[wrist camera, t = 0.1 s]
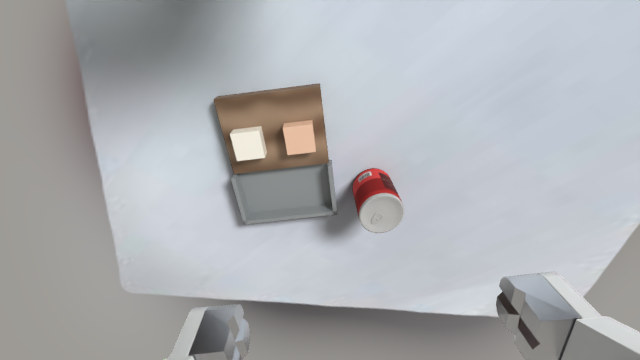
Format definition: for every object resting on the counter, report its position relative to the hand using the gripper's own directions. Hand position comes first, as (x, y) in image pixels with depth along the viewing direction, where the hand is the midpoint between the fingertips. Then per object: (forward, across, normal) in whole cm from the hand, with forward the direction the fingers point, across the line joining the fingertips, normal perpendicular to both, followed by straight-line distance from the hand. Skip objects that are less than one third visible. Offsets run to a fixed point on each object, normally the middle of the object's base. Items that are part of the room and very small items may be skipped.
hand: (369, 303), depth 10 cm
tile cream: (+45, +15, +9) cm, 48 cm away
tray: (+48, +10, +21) cm, 53 cm away
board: (+48, +10, +8) cm, 50 cm away
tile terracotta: (+45, +6, +9) cm, 47 cm away
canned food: (+48, -7, +22) cm, 53 cm away
